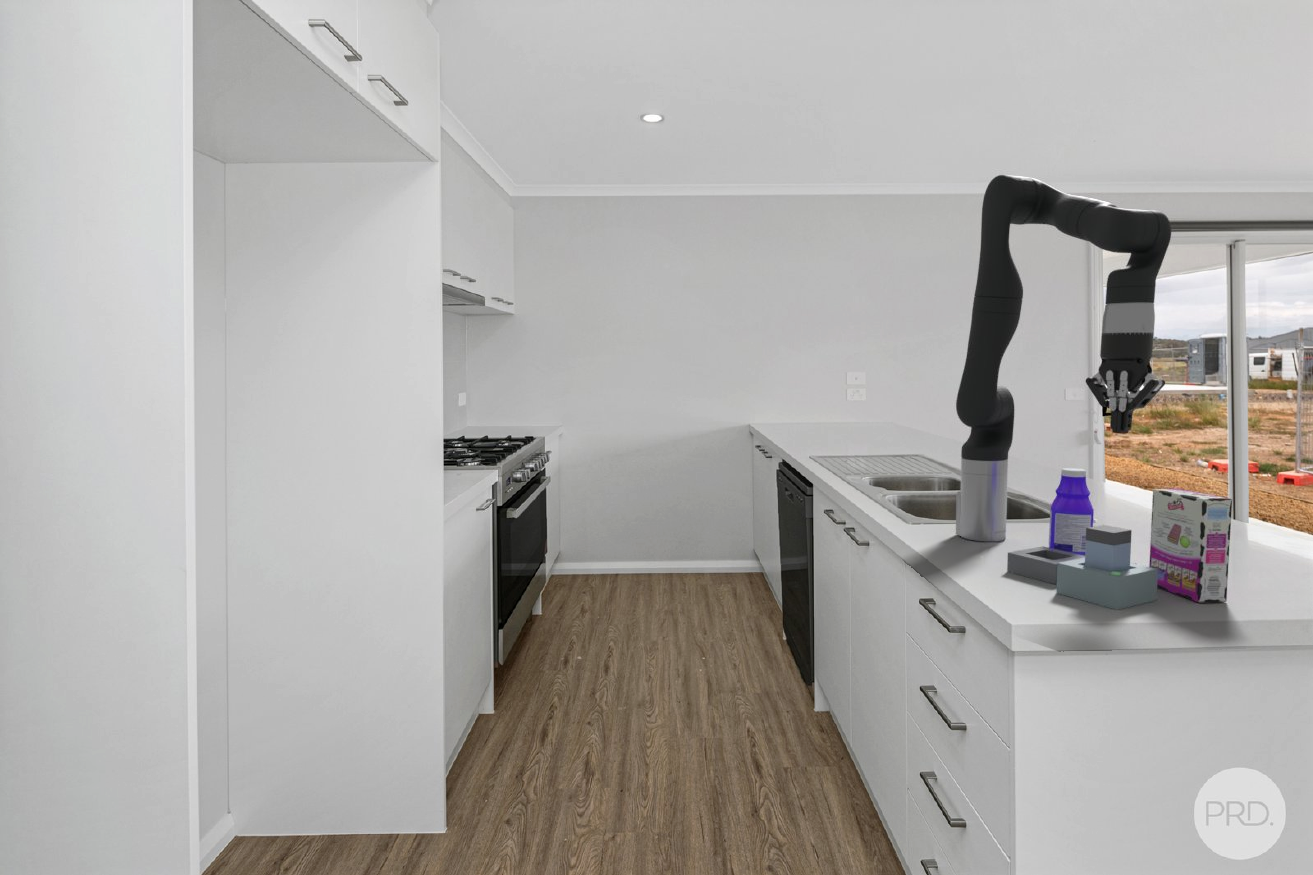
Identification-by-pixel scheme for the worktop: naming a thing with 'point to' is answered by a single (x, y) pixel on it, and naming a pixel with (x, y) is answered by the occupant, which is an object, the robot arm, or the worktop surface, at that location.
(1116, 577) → the port
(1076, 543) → the bottle
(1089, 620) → the worktop surface
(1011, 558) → the holster
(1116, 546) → the plug
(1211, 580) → the candy bar box
